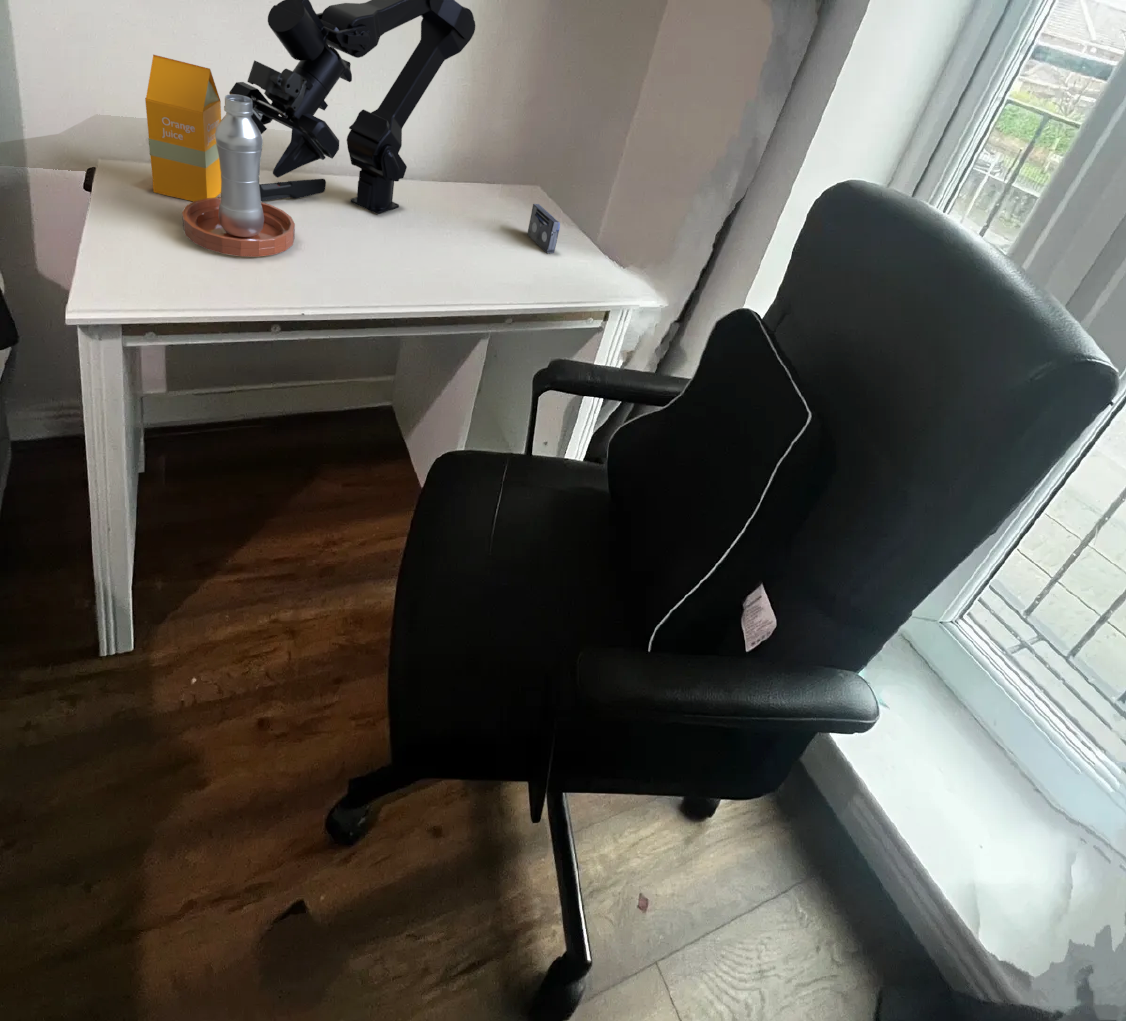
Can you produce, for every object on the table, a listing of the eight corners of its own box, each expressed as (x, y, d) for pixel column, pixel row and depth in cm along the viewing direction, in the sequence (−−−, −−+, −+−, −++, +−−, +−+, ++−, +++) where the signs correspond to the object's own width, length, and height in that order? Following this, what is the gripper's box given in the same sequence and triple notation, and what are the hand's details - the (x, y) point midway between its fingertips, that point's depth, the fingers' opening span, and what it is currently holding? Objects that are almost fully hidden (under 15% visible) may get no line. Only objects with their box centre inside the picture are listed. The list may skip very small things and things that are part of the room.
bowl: (239, 207, 137) (239, 189, 136) (315, 243, 134) (316, 225, 132) (159, 229, 125) (158, 209, 123) (240, 269, 121) (240, 250, 120)
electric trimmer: (330, 199, 149) (331, 182, 147) (252, 207, 139) (252, 188, 137) (318, 191, 151) (318, 174, 149) (240, 198, 140) (239, 179, 138)
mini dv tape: (554, 253, 153) (561, 222, 149) (547, 253, 152) (554, 222, 148) (533, 234, 158) (540, 203, 154) (527, 234, 157) (533, 203, 153)
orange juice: (207, 205, 135) (201, 74, 123) (152, 192, 134) (140, 59, 122) (224, 189, 141) (220, 63, 129) (172, 177, 140) (162, 49, 128)
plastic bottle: (271, 240, 130) (271, 106, 117) (229, 243, 126) (225, 105, 113) (253, 223, 133) (251, 91, 121) (211, 226, 129) (205, 90, 116)
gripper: (237, 21, 121) (177, 107, 120) (328, 62, 115) (265, 152, 114) (279, 76, 132) (224, 155, 131) (364, 116, 126) (308, 199, 125)
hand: (253, 164), depth 125 cm, fingers open, 9 cm apart
